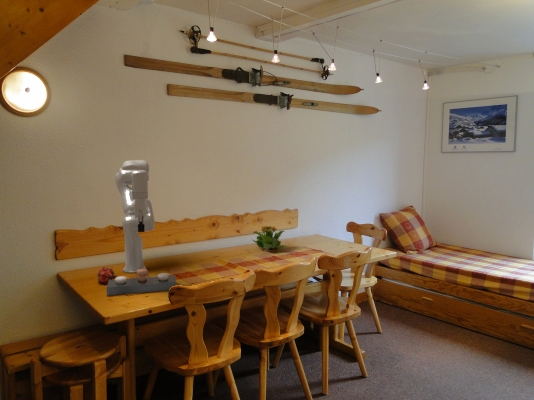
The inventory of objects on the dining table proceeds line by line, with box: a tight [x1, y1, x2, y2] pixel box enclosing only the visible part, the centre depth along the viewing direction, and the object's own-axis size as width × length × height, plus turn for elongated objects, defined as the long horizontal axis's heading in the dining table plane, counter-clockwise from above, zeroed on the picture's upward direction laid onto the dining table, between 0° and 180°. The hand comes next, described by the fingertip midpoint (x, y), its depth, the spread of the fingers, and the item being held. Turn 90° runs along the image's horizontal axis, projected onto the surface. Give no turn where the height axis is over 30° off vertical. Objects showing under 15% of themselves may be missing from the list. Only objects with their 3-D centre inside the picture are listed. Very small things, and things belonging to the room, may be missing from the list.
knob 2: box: [157, 272, 169, 281], centre depth 206 cm, size 5×5×6 cm
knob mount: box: [106, 274, 177, 297], centre depth 203 cm, size 12×32×4 cm, turn 106°
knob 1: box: [114, 275, 127, 284], centre depth 200 cm, size 5×5×6 cm
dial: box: [136, 268, 149, 282], centre depth 203 cm, size 5×5×6 cm
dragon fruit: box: [96, 266, 118, 285], centre depth 213 cm, size 8×8×12 cm
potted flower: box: [252, 225, 287, 253], centre depth 284 cm, size 25×24×18 cm
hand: (141, 231), depth 208 cm, fingers closed
